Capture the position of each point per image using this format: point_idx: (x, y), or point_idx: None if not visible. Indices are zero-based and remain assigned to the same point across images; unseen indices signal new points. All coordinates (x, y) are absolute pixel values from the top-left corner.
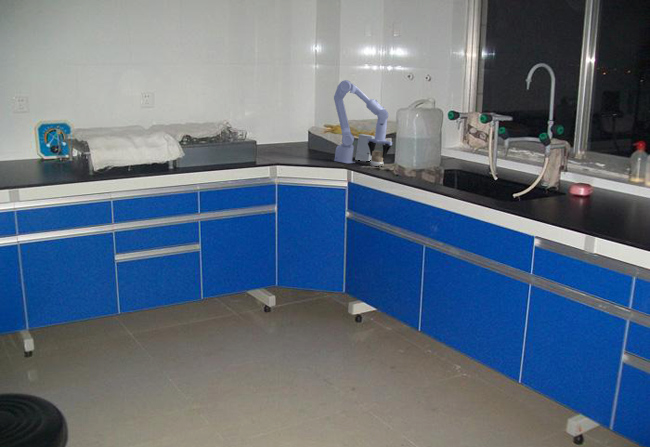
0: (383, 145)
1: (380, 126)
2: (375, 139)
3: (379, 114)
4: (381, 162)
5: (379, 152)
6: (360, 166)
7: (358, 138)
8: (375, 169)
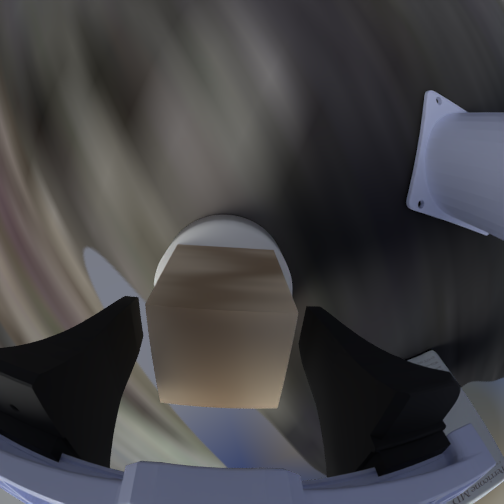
0: (20, 374)
1: None
2: None
3: None
4: (157, 270)
5: (149, 301)
6: (289, 54)
7: (499, 450)
8: (117, 45)
